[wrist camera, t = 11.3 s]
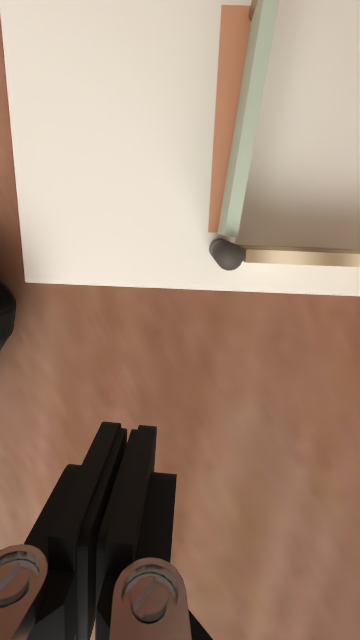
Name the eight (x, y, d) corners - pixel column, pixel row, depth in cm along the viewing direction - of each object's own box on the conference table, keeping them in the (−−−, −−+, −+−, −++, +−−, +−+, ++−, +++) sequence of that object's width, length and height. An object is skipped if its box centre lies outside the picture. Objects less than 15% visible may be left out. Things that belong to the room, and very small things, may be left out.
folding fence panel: (231, 235, 31) (242, 238, 25) (214, 232, 31) (221, 235, 25) (271, 2, 26) (297, -67, 20) (250, -1, 26) (270, -71, 20)
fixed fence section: (377, 244, 31) (436, 251, 24) (372, 265, 32) (429, 278, 25) (209, 237, 32) (216, 242, 24) (208, 259, 32) (215, 270, 25)
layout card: (439, -66, 25) (442, -70, 25) (367, 295, 33) (369, 296, 33) (-7, -81, 26) (-9, -85, 25) (26, 281, 33) (24, 282, 33)
